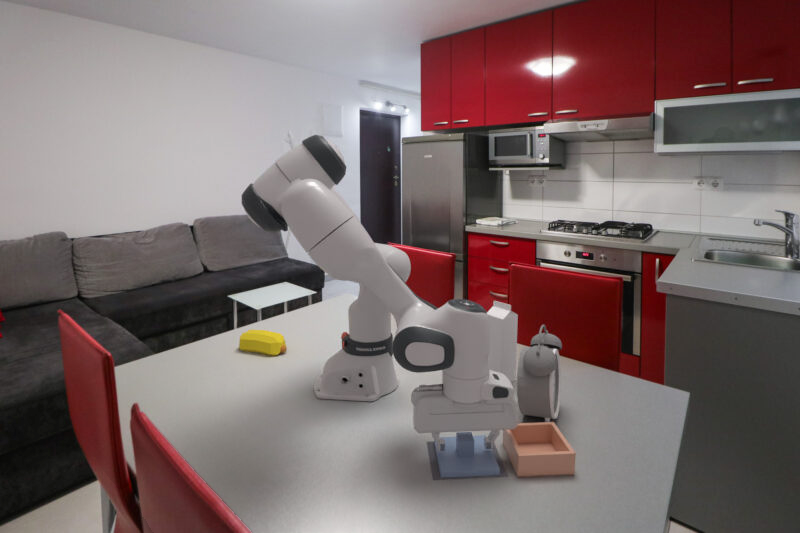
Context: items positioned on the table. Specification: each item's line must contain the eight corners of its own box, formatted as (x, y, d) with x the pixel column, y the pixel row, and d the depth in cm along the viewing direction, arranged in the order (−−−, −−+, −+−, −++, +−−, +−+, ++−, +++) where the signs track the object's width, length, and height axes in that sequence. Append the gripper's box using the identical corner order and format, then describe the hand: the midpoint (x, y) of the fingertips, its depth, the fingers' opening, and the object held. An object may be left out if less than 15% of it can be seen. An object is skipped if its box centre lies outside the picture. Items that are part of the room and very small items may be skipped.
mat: (433, 482, 82) (433, 479, 82) (426, 444, 94) (426, 441, 94) (508, 479, 83) (508, 476, 83) (492, 441, 95) (492, 438, 95)
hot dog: (248, 343, 153) (232, 352, 146) (246, 325, 151) (230, 332, 144) (293, 350, 146) (278, 359, 139) (291, 330, 145) (277, 339, 138)
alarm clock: (553, 439, 95) (558, 342, 90) (512, 430, 99) (515, 336, 94) (561, 403, 109) (567, 318, 105) (525, 396, 113) (529, 313, 109)
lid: (440, 477, 83) (440, 455, 82) (433, 442, 94) (433, 422, 93) (499, 475, 83) (500, 452, 82) (486, 440, 94) (486, 420, 93)
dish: (517, 479, 83) (518, 455, 82) (502, 445, 93) (503, 424, 92) (574, 477, 83) (575, 453, 82) (552, 443, 94) (553, 421, 93)
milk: (501, 387, 118) (503, 307, 114) (483, 379, 123) (485, 302, 118) (515, 380, 122) (518, 303, 117) (498, 372, 127) (500, 298, 122)
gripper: (412, 393, 82) (413, 460, 85) (522, 389, 82) (520, 456, 85) (410, 378, 88) (410, 441, 91) (513, 374, 89) (510, 437, 92)
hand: (464, 448), depth 88 cm, fingers open, 8 cm apart
